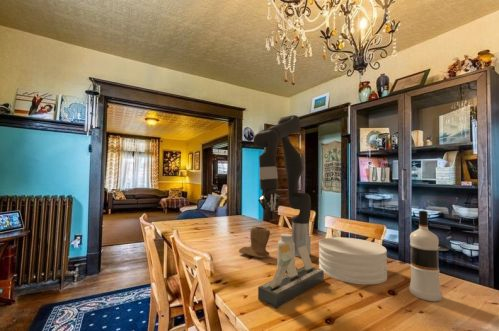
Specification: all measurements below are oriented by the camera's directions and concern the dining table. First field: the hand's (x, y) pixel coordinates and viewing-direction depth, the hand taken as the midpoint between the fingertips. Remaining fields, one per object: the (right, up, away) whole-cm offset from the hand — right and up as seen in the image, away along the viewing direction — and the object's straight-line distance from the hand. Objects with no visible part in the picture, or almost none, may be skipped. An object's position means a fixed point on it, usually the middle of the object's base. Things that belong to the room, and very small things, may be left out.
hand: (271, 219), depth 97 cm
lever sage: (0, -18, -17) cm, 25 cm away
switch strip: (+7, -23, -10) cm, 27 cm away
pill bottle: (+8, -25, +11) cm, 28 cm away
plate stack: (+37, -25, +9) cm, 46 cm away
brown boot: (-5, -26, +28) cm, 39 cm away
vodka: (+54, -24, -14) cm, 60 cm away
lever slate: (+15, -20, -2) cm, 25 cm away
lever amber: (+7, -19, -10) cm, 23 cm away
